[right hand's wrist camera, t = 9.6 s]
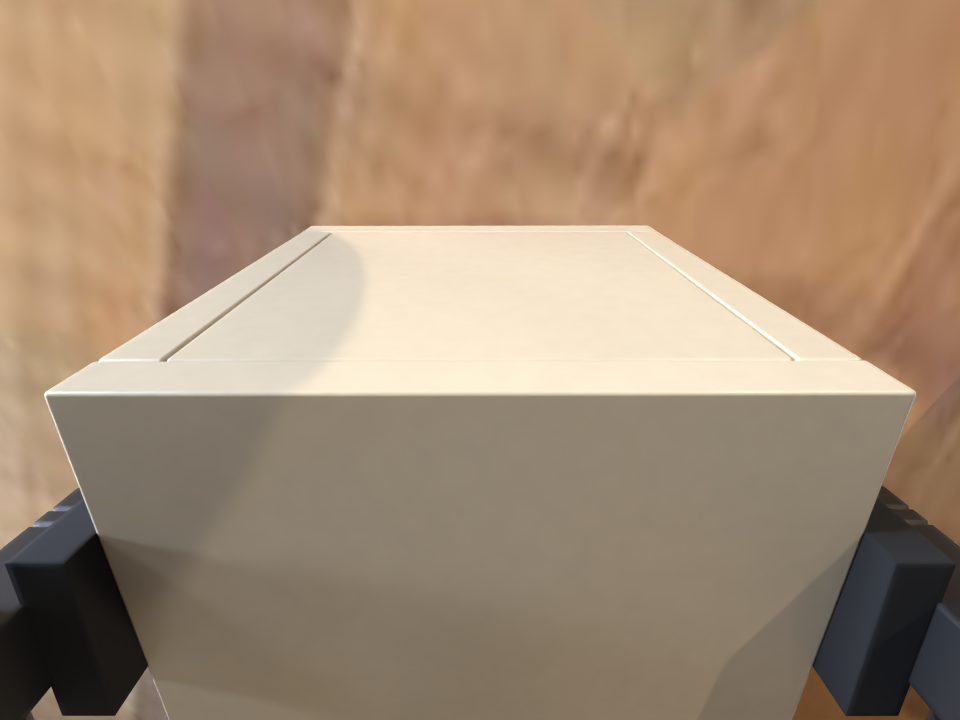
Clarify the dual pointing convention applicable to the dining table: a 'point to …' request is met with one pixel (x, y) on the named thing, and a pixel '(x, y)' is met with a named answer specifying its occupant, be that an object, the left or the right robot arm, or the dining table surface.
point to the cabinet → (480, 481)
